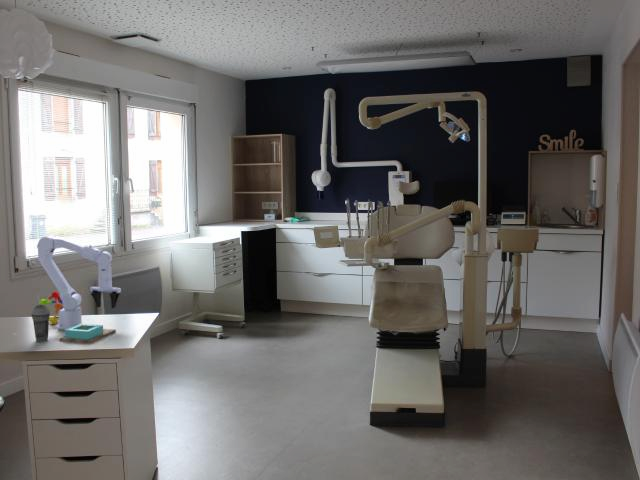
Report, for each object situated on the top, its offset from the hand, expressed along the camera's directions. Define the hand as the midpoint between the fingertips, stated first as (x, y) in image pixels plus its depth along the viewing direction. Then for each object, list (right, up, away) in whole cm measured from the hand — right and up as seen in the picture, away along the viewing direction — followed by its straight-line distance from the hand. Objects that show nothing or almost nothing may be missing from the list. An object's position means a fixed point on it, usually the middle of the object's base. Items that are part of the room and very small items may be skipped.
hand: (106, 307), depth 292 cm
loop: (-3, -10, -18) cm, 21 cm away
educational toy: (-28, -8, +13) cm, 32 cm away
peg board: (-3, -11, -15) cm, 19 cm away
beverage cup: (-20, -12, -22) cm, 32 cm away
